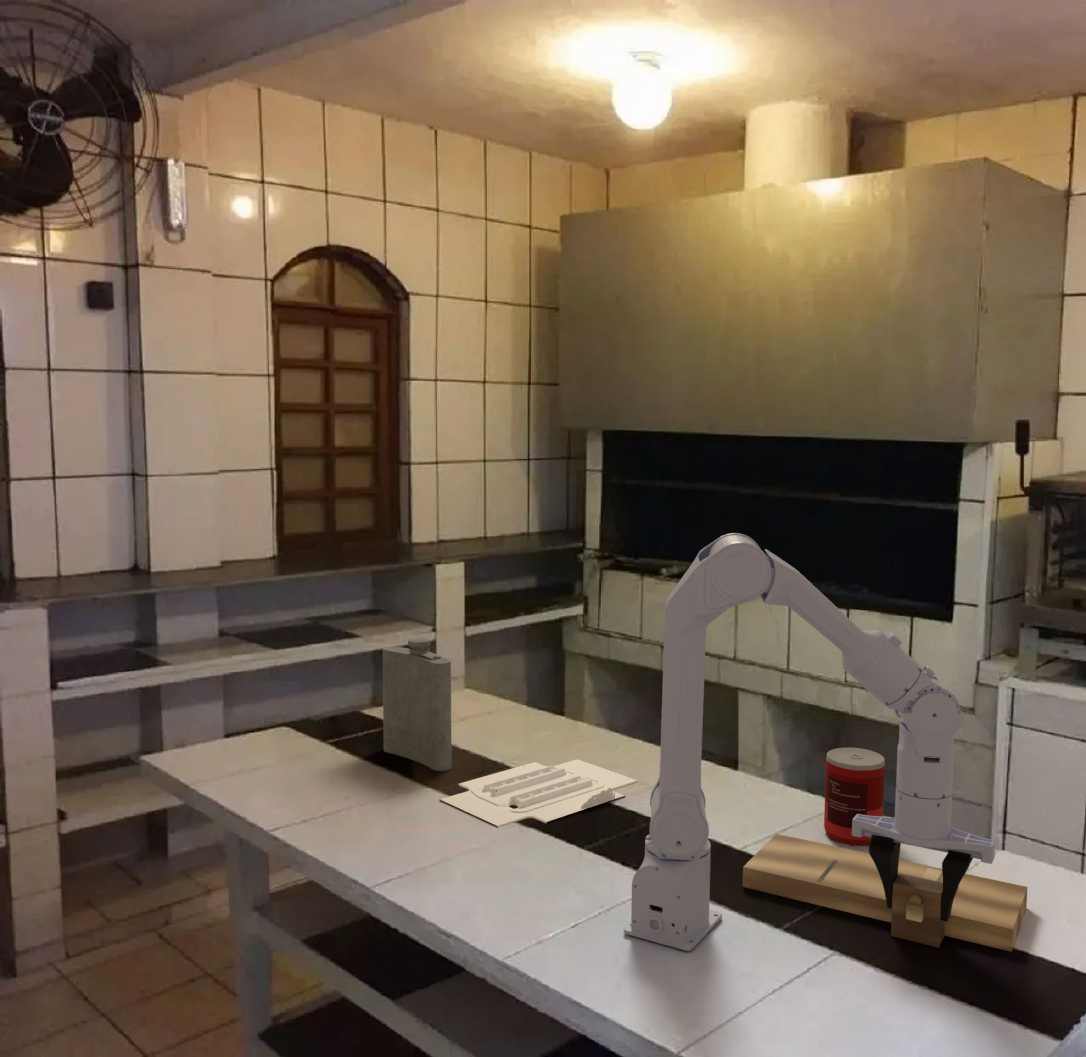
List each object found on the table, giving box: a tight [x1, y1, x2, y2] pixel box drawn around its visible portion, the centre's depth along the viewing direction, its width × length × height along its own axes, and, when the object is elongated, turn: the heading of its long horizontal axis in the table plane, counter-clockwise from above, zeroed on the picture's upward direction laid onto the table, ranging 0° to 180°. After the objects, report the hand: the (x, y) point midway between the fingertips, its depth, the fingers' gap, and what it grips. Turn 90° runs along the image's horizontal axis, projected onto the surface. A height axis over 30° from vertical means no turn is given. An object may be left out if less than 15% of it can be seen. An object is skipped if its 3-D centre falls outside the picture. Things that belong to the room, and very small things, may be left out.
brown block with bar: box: [890, 868, 945, 949], centre depth 119 cm, size 11×5×6 cm, turn 149°
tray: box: [439, 759, 638, 828], centre depth 161 cm, size 20×28×4 cm
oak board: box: [742, 833, 1028, 952], centre depth 126 cm, size 12×30×2 cm, turn 59°
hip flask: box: [382, 637, 452, 772], centre depth 176 cm, size 16×4×20 cm, turn 45°
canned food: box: [823, 747, 886, 846], centre depth 145 cm, size 8×8×11 cm
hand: (918, 910), depth 117 cm, fingers closed on brown block with bar, 5 cm apart
